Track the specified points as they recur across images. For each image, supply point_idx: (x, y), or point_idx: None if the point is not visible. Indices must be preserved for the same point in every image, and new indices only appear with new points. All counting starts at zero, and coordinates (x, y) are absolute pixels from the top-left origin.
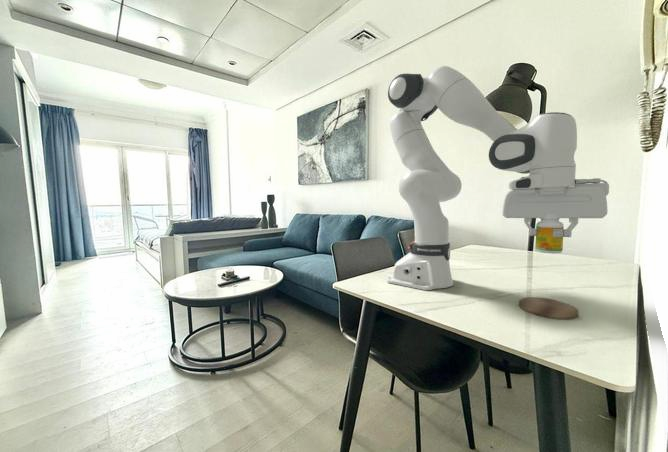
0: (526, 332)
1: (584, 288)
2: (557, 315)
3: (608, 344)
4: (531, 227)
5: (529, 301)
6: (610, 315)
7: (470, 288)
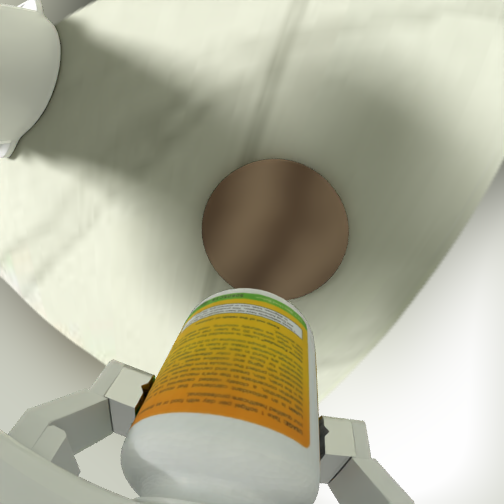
0: None
1: (463, 21)
2: None
3: None
4: (100, 439)
5: (233, 208)
6: (414, 246)
7: (98, 85)
